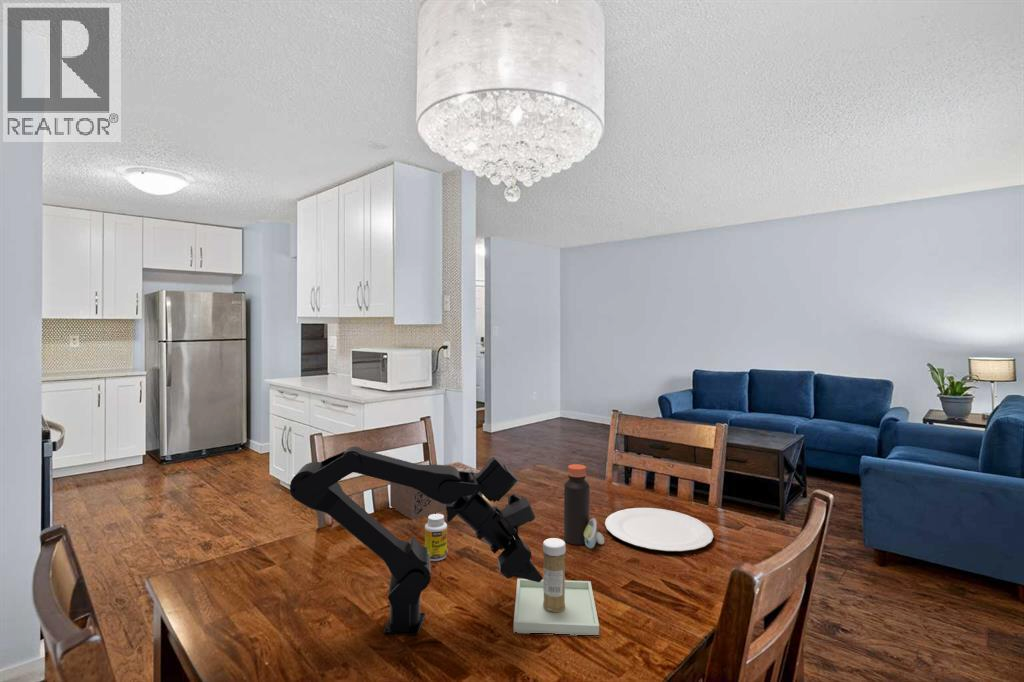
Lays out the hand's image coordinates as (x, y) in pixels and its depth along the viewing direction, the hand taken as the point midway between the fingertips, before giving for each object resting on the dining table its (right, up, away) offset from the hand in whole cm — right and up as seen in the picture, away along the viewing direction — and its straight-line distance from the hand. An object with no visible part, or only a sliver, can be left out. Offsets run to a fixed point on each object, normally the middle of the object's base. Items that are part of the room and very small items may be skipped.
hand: (535, 568), depth 99 cm
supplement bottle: (-24, -8, +24) cm, 34 cm away
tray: (+4, -9, +1) cm, 10 cm away
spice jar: (+4, -8, +1) cm, 9 cm away
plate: (+36, -8, +39) cm, 54 cm away
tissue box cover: (-29, -7, +60) cm, 67 cm away
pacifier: (+15, -3, +29) cm, 33 cm away
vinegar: (+13, -8, +34) cm, 37 cm away
